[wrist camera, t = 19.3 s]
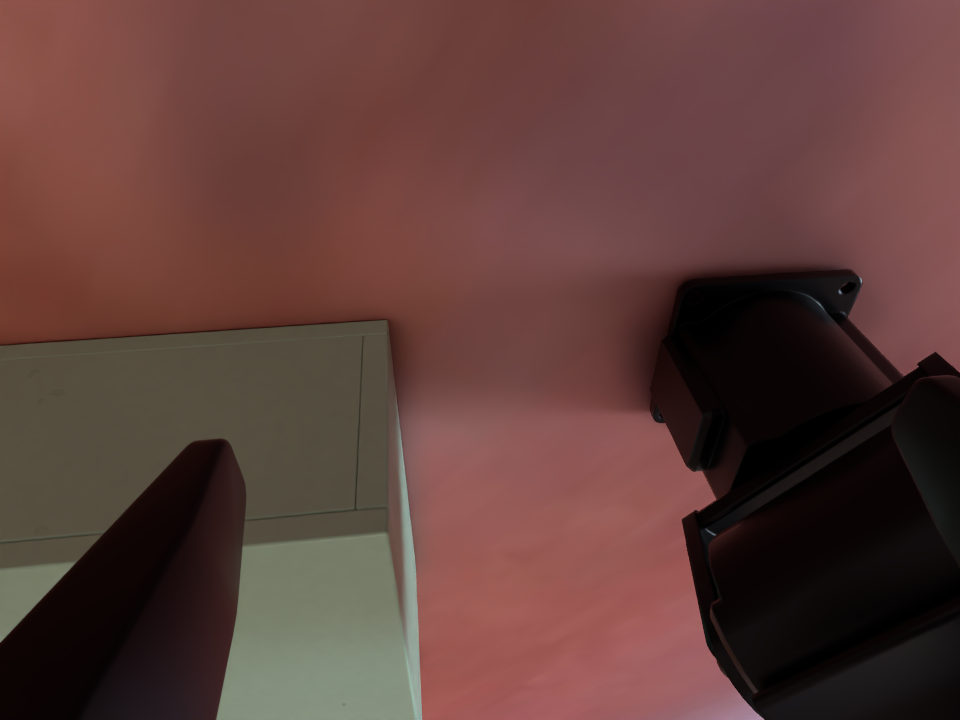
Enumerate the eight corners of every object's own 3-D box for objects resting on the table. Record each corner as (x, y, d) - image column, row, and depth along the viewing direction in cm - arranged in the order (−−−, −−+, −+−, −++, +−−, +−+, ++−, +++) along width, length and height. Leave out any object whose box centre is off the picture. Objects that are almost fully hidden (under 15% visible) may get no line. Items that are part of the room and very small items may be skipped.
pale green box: (415, 564, 31) (423, 763, 24) (122, 593, 29) (46, 811, 23) (387, 319, 21) (388, 533, 15) (-42, 347, 20) (-250, 594, 14)
